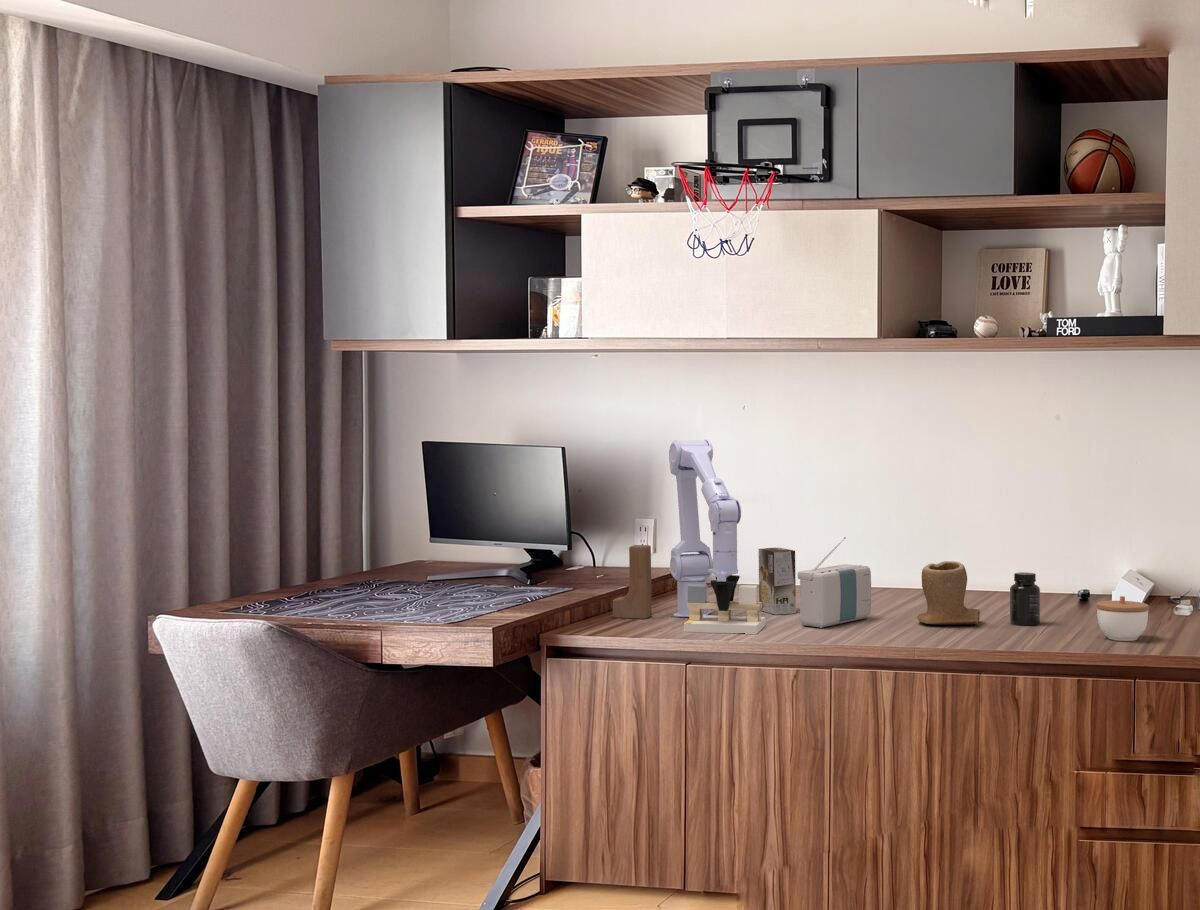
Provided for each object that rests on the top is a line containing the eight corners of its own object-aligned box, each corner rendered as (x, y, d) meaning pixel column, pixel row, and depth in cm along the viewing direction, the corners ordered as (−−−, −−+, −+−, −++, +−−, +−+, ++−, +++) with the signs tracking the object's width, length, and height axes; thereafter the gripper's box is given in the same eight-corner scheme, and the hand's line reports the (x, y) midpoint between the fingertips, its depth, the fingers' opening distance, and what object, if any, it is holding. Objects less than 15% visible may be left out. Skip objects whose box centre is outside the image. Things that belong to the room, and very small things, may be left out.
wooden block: (612, 617, 333) (611, 546, 332) (617, 615, 337) (617, 544, 337) (646, 619, 330) (646, 546, 330) (652, 616, 334) (651, 545, 334)
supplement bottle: (1038, 622, 319) (1038, 571, 318) (1041, 626, 312) (1041, 575, 312) (1008, 621, 320) (1008, 571, 320) (1011, 625, 314) (1010, 575, 313)
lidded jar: (1149, 636, 297) (1149, 594, 297) (1148, 644, 287) (1148, 600, 287) (1097, 633, 301) (1097, 592, 301) (1095, 641, 291) (1095, 598, 291)
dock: (695, 623, 323) (695, 614, 323) (765, 625, 318) (765, 616, 318) (684, 631, 311) (683, 622, 310) (756, 634, 306) (756, 625, 306)
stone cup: (921, 629, 311) (921, 564, 310) (914, 621, 323) (914, 559, 322) (988, 629, 309) (987, 564, 309) (978, 621, 321) (978, 559, 321)
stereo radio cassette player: (824, 630, 311) (823, 544, 311) (795, 626, 317) (794, 542, 316) (873, 619, 326) (872, 537, 326) (844, 616, 332) (844, 536, 331)
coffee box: (797, 613, 336) (796, 550, 336) (774, 615, 334) (774, 551, 334) (779, 608, 345) (779, 546, 344) (757, 610, 343) (757, 548, 342)
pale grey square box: (690, 600, 318) (690, 584, 318) (706, 601, 318) (706, 584, 318) (687, 603, 315) (687, 586, 314) (704, 603, 314) (704, 586, 314)
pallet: (690, 616, 319) (690, 600, 319) (761, 619, 315) (761, 602, 315) (687, 620, 314) (687, 603, 314) (759, 622, 311) (759, 605, 310)
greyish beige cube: (740, 601, 316) (740, 585, 316) (757, 602, 315) (757, 585, 315) (738, 604, 312) (738, 587, 312) (755, 604, 311) (755, 587, 311)
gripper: (712, 547, 322) (712, 603, 323) (703, 554, 308) (704, 612, 309) (741, 548, 321) (741, 604, 321) (734, 554, 307) (734, 613, 307)
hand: (725, 608), depth 315 cm, fingers open, 7 cm apart
